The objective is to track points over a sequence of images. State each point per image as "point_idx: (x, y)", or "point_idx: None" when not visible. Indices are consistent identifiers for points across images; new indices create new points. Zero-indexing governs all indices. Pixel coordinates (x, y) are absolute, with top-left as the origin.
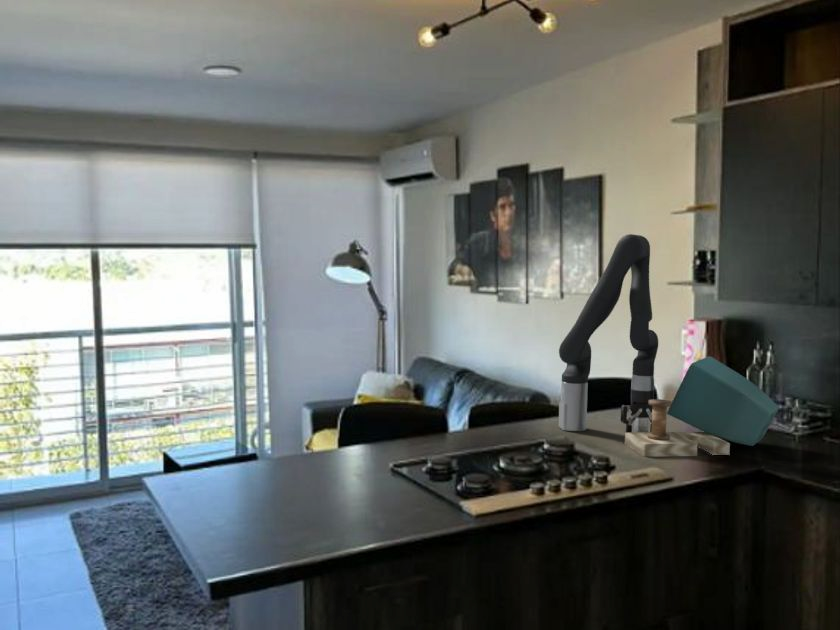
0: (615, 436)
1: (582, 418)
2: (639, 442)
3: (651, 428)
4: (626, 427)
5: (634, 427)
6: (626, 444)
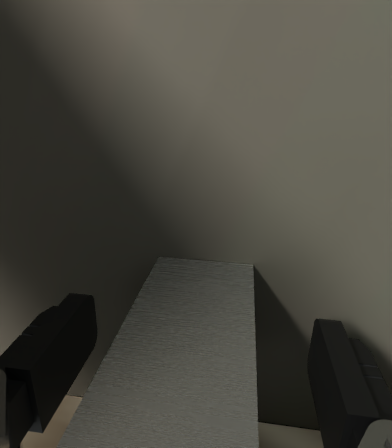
0: (17, 142)
1: None
2: None
3: (326, 397)
4: (8, 361)
5: (121, 335)
6: None
